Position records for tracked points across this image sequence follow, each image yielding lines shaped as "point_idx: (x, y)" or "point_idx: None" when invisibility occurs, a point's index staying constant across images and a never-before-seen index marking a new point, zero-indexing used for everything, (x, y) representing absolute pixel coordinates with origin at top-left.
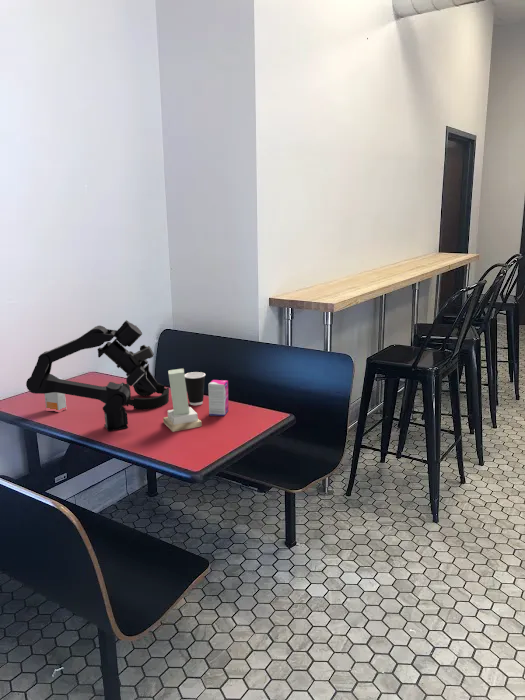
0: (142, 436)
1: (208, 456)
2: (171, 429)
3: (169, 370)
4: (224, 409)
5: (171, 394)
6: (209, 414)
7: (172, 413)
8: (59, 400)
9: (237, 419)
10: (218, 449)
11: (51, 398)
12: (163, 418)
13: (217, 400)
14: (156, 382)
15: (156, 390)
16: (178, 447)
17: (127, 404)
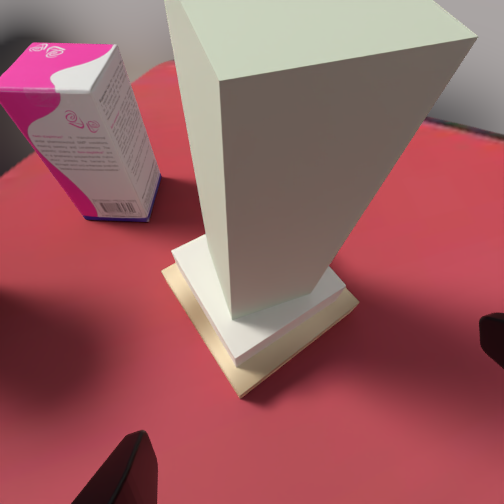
0: (459, 447)
1: (497, 159)
2: (341, 318)
3: (219, 64)
4: (153, 156)
5: (350, 230)
6: (148, 217)
7: (284, 311)
8: None
9: None
10: (441, 148)
11: None
12: (242, 393)
13: (138, 143)
14: (138, 455)
15: (496, 313)
16: (486, 245)
17: None
